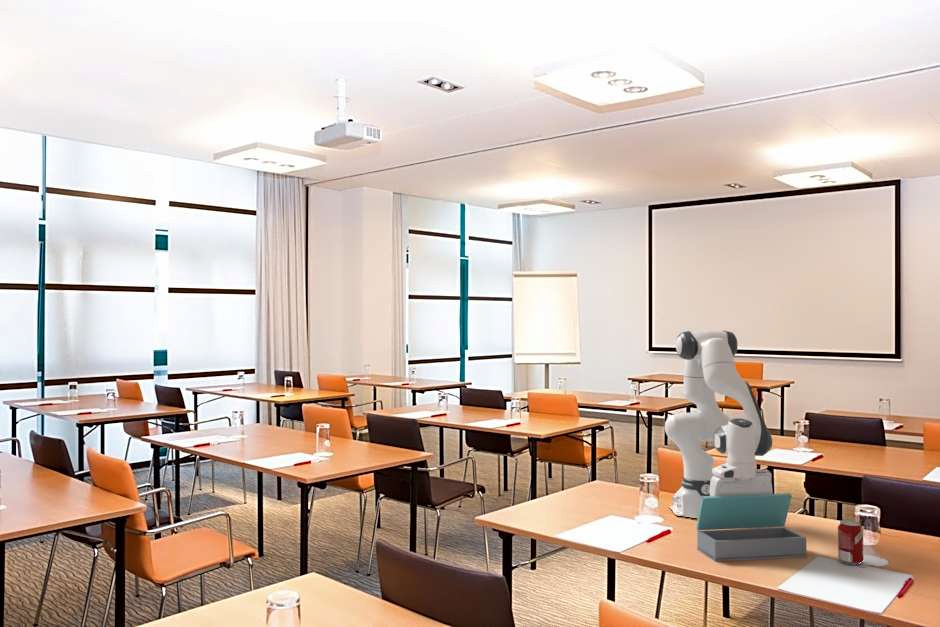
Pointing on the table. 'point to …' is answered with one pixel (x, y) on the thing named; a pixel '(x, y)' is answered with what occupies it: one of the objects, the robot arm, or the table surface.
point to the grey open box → (751, 544)
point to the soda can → (850, 542)
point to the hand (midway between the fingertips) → (741, 512)
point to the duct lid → (743, 511)
